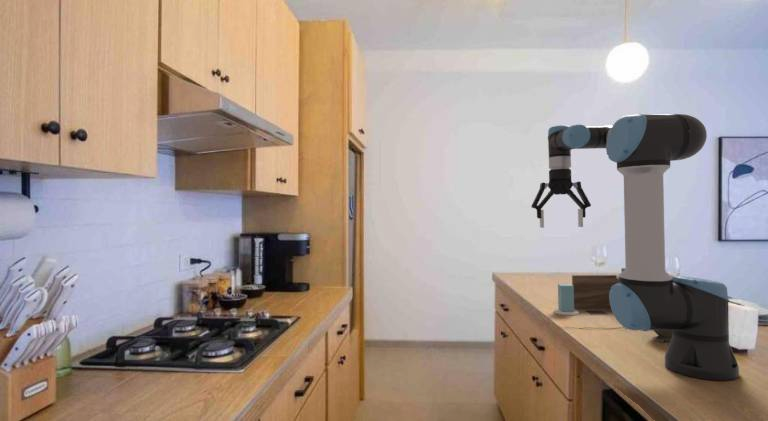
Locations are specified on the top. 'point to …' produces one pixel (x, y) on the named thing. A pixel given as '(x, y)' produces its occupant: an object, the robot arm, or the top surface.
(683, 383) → the top surface
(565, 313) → the saucer
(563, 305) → the block
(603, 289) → the dark brown wooden box
